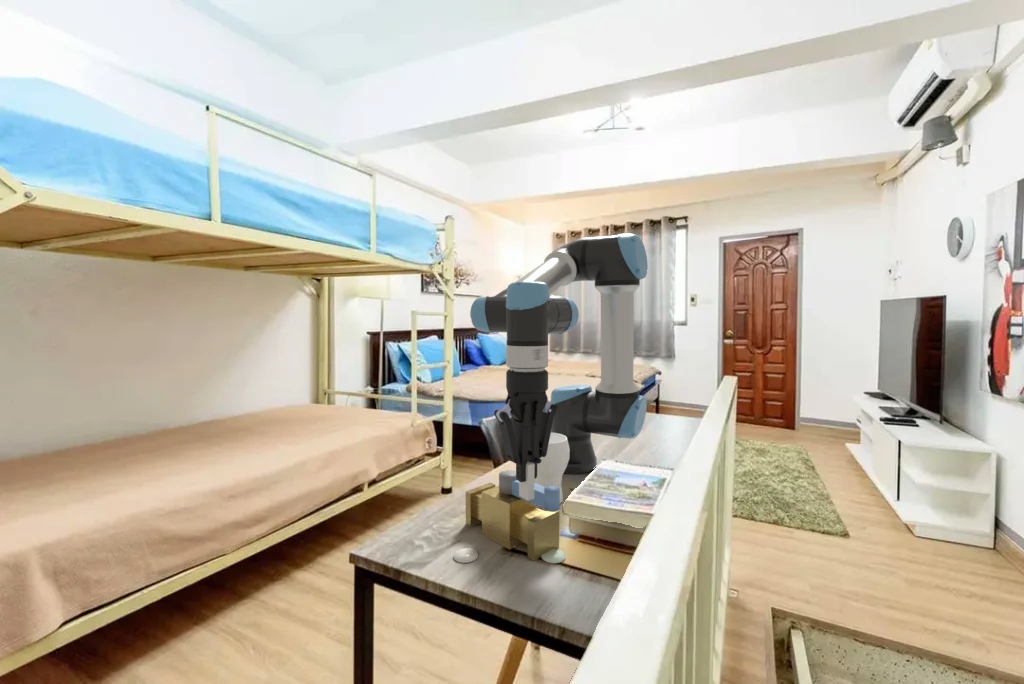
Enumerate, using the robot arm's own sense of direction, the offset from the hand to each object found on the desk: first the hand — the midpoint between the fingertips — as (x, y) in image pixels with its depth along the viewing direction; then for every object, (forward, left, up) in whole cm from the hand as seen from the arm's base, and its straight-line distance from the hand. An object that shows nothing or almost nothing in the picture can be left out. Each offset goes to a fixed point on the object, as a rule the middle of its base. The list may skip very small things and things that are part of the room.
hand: (526, 497), depth 82 cm
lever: (-3, -2, -2) cm, 4 cm away
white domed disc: (+8, -7, -11) cm, 16 cm away
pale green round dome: (-3, +4, -11) cm, 12 cm away
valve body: (-3, -7, -11) cm, 13 cm away
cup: (-21, -13, -11) cm, 27 cm away
